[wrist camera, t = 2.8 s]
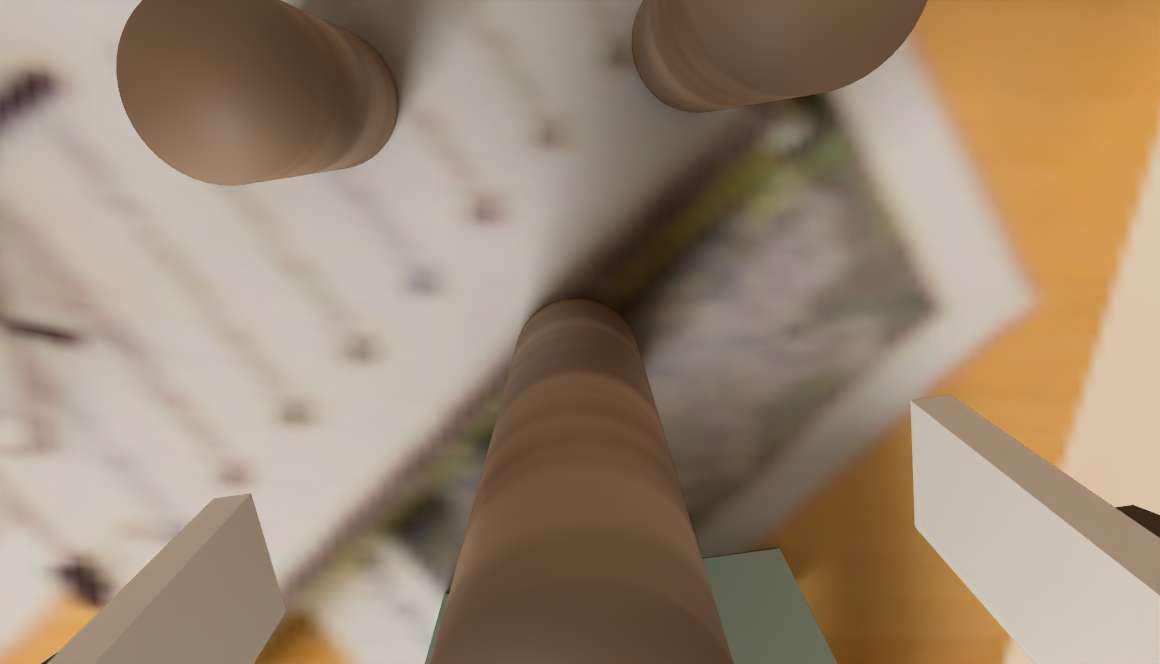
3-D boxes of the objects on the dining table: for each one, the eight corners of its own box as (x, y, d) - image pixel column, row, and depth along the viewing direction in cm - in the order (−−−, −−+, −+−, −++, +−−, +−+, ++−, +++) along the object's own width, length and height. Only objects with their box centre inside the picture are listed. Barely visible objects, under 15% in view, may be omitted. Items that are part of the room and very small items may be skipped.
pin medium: (623, -24, 20) (668, -163, 11) (763, -46, 20) (936, -209, 11) (641, 122, 22) (696, 112, 12) (774, 101, 21) (940, 74, 12)
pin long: (505, 307, 23) (389, 603, 8) (629, 289, 23) (727, 556, 8) (526, 423, 24) (455, 861, 10) (645, 406, 24) (756, 823, 9)
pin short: (245, 38, 21) (89, -7, 14) (381, 16, 21) (290, -40, 14) (281, 178, 22) (151, 199, 15) (411, 158, 22) (338, 169, 15)
